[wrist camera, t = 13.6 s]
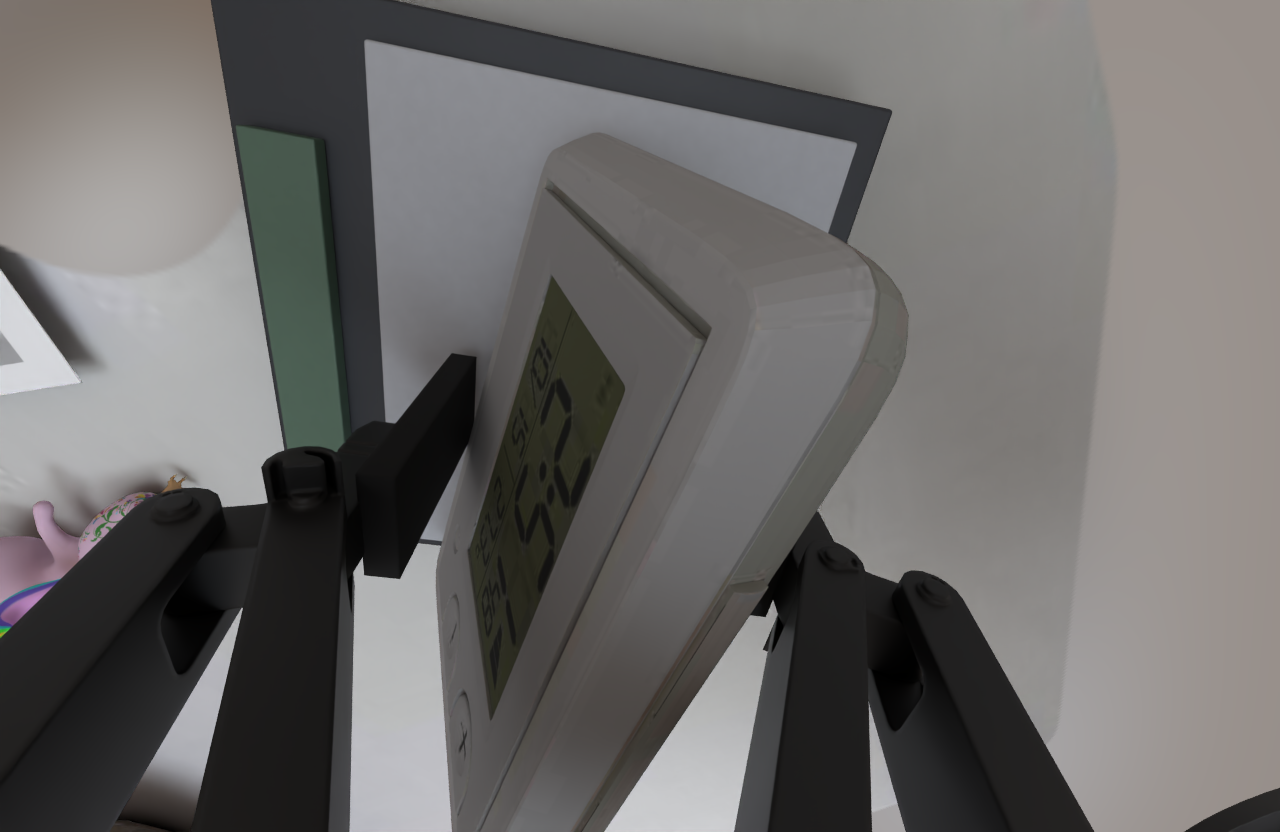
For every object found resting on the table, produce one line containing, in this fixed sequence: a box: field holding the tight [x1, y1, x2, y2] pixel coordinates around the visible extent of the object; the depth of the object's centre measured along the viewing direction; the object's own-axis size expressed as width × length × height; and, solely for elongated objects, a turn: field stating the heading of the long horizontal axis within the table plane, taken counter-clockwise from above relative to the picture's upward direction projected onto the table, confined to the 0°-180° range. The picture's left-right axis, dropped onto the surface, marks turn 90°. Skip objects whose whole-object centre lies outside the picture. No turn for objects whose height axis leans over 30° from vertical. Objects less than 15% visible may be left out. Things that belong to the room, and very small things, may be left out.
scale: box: [211, 0, 892, 546], centre depth 18 cm, size 18×18×3 cm
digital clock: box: [436, 132, 909, 832], centre depth 13 cm, size 16×9×11 cm, turn 148°
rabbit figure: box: [0, 474, 187, 638], centre depth 22 cm, size 6×6×15 cm
